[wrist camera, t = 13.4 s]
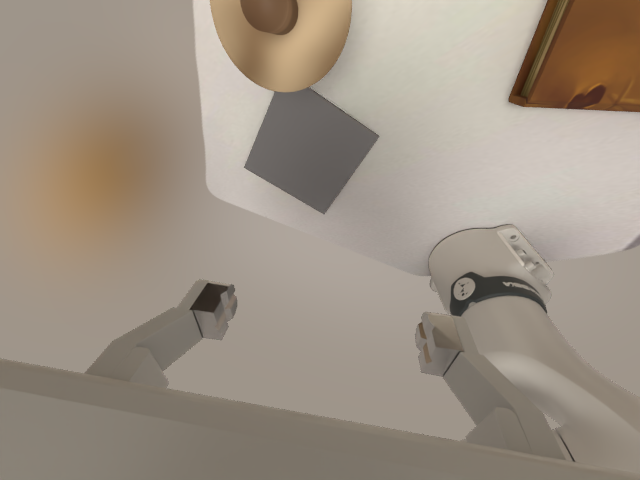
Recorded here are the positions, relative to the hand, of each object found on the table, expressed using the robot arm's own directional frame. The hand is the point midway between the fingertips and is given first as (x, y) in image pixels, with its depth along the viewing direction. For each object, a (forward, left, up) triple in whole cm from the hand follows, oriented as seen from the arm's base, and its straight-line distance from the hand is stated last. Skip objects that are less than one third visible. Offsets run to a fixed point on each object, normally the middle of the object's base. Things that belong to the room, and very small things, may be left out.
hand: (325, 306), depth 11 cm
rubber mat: (+4, +7, -34) cm, 35 cm away
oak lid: (+11, -7, -19) cm, 23 cm away
